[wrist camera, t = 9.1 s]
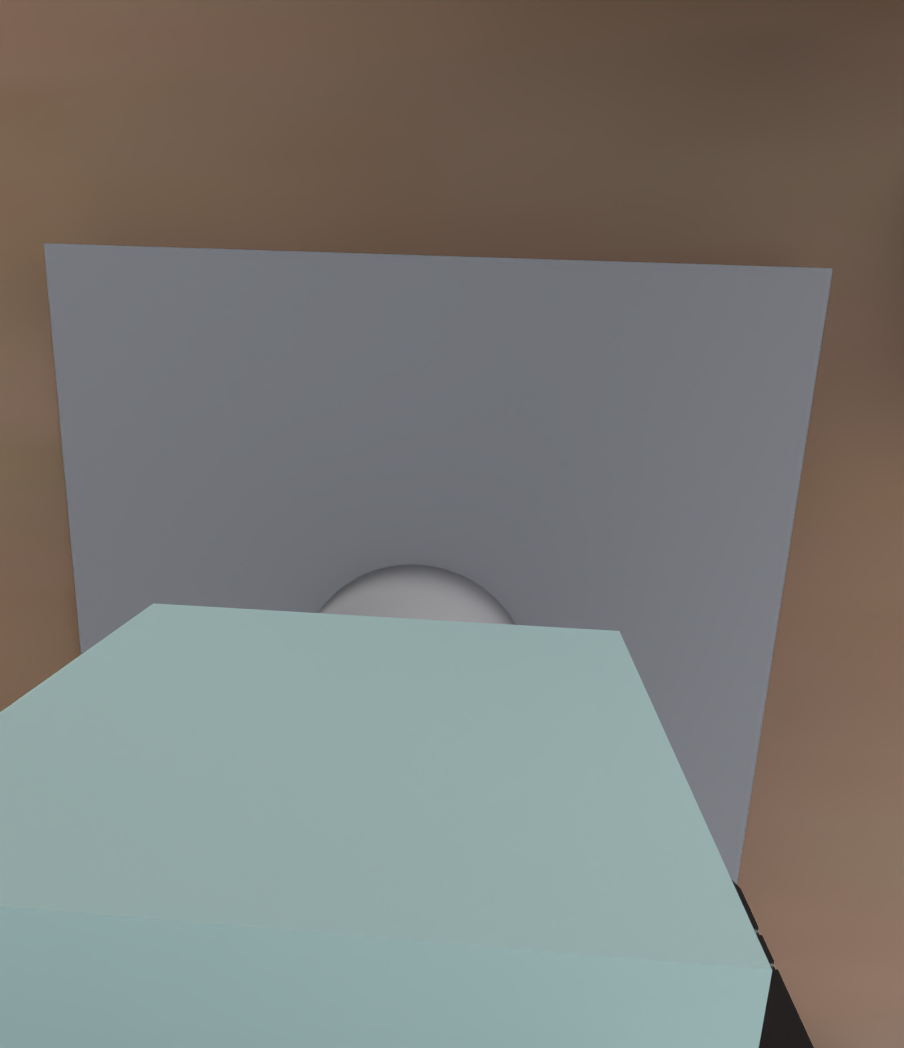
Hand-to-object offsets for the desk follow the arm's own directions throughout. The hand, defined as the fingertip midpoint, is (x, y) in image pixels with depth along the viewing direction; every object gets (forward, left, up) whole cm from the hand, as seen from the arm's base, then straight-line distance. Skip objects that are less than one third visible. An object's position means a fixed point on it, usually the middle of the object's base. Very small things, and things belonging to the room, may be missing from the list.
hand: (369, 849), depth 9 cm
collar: (0, 0, -1) cm, 1 cm away
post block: (0, 0, -7) cm, 7 cm away
